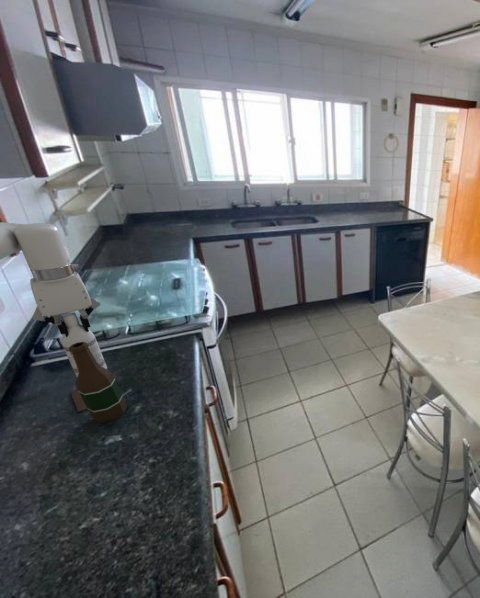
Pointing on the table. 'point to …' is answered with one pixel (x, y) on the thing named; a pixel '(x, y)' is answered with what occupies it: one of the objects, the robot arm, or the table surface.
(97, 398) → the beer bottle
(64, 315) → the bath foam
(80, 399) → the brown flat square slab
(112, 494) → the table surface
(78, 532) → the table surface
